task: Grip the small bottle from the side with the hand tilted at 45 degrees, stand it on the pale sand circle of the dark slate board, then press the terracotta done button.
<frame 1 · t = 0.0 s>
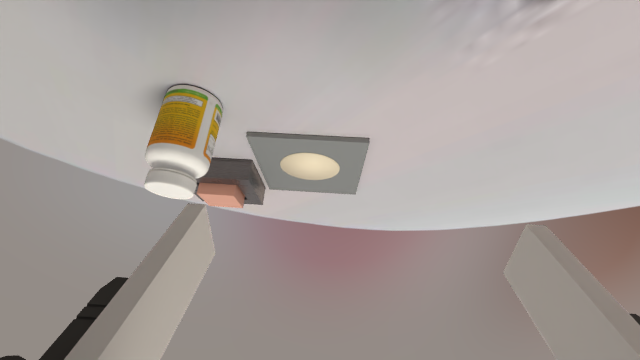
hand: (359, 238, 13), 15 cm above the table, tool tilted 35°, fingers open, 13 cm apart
supplement bottle: (196, 100, 30), on the table
slate board: (310, 166, 41), on the table
done button: (222, 194, 44), point 4 cm above the table, slide at 0.0 cm
button housing: (227, 173, 45), on the table
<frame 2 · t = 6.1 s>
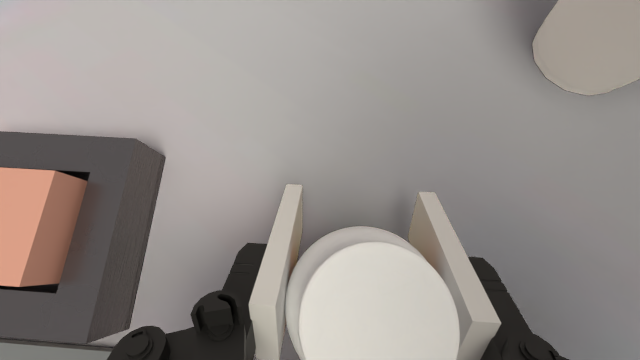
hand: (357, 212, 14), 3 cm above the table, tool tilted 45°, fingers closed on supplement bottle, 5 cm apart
foam cup: (577, 56, 20), on the table
supplement bottle: (349, 286, 17), on the table, touching gripper
done button: (6, 224, 14), point 4 cm above the table, slide at 0.0 cm
button housing: (67, 231, 18), on the table
when the fingers open (5 cm above the table, at t = 11.5 s): supplement bottle drops 1 cm, resting on slate board.
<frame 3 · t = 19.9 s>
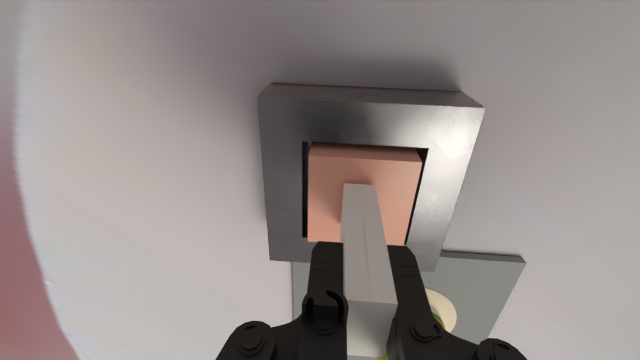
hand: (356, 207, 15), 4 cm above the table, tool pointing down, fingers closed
slate board: (390, 312, 24), on the table
done button: (358, 194, 16), point 3 cm above the table, slide at 0.8 cm, touching gripper
button housing: (356, 170, 18), on the table
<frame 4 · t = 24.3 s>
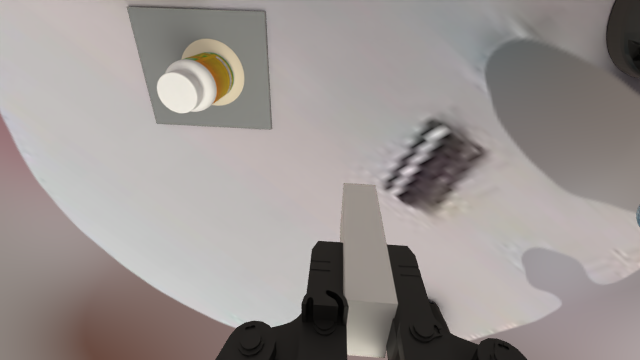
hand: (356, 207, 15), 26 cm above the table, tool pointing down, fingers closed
supplement bottle: (214, 74, 37), resting on slate board
slate board: (206, 72, 38), on the table
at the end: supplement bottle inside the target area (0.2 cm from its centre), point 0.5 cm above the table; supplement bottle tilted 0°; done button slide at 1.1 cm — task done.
